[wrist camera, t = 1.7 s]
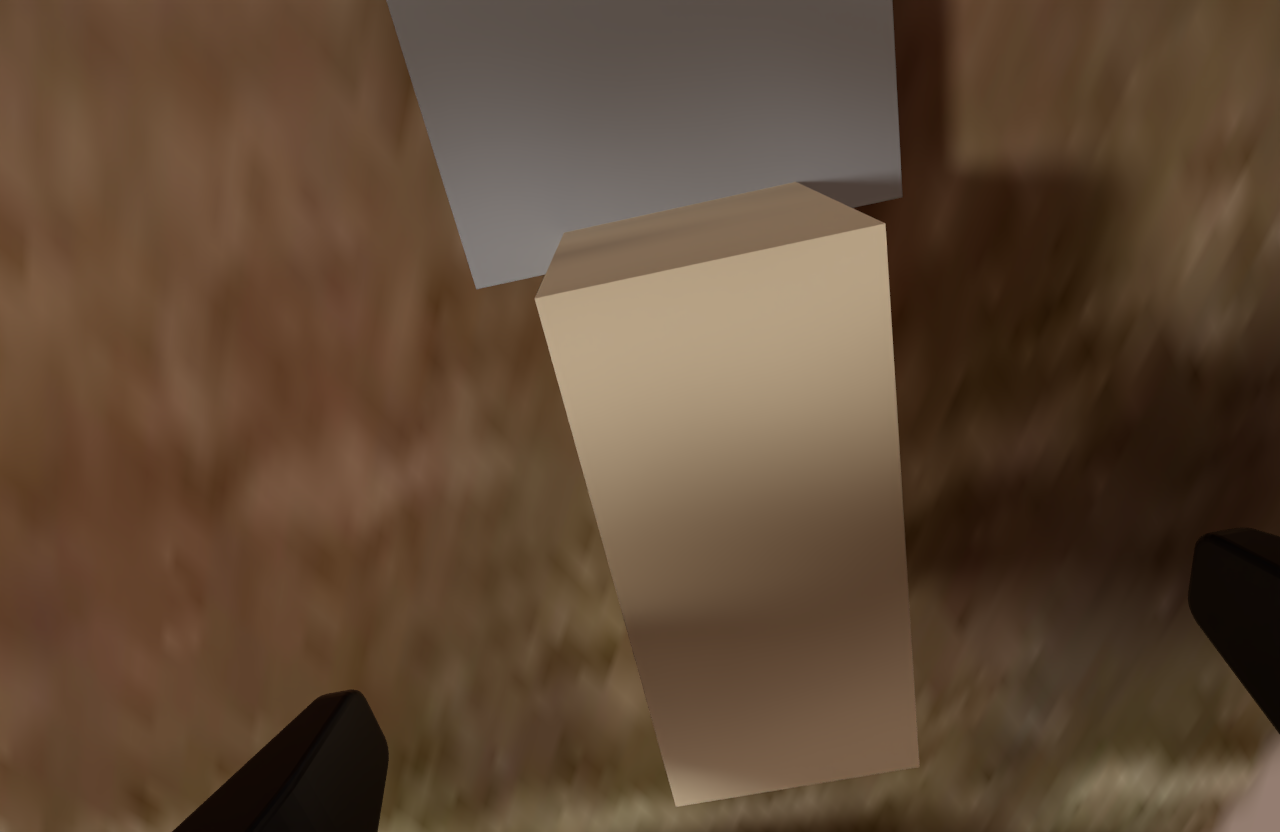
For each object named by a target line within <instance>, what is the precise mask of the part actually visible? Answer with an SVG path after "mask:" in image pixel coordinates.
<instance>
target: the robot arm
mask: <svg viewBox="0 0 1280 832" xmlns="http://www.w3.org/2000/svg"><path fill="white" fill-rule="evenodd" d="M1188 602H1189V607H1190V610H1191V613H1192V615H1193V617H1194V619H1195V620H1196V622H1197V624H1198V625H1199V626H1200V628H1201V629H1202V630H1203V632H1204V633H1205V634H1206V636H1207V637H1208V638H1209V640H1210V641H1211V642H1212V644H1213V645H1214V646H1215V648H1216V649H1217V651H1218V652H1219V653H1220V655H1221V656H1222V657H1223V659H1224V660H1225V661H1226V663H1227V664H1228V665H1229V667H1230V668H1231V669H1232V671H1233V672H1234V673H1235V675H1236V676H1237V677H1238V679H1239V680H1240V681H1241V683H1242V684H1243V686H1244V687H1245V688H1246V690H1247V691H1248V692H1249V694H1250V695H1251V696H1252V698H1253V699H1254V700H1255V702H1256V703H1257V704H1258V706H1259V707H1260V708H1261V710H1262V711H1263V712H1264V714H1265V715H1266V716H1267V718H1268V719H1269V721H1270V722H1271V723H1272V725H1273V726H1274V727H1275V729H1276V730H1277V731H1278V733H1279V734H1280V537H1279V536H1275V535H1272V534H1269V533H1265V532H1262V531H1259V530H1255V529H1251V528H1234V529H1228V530H1223V531H1217V532H1212V533H1207V534H1205V535H1203V536H1201V537H1200V538H1199V540H1198V541H1197V542H1196V545H1195V549H1194V556H1193V563H1192V570H1191V577H1190V584H1189V591H1188ZM388 761H389V753H388V746H387V742H386V739H385V736H384V734H383V732H382V730H381V728H380V726H379V724H378V722H377V720H376V718H375V716H374V714H373V712H372V710H371V708H370V706H369V704H368V702H367V700H366V698H365V697H364V695H363V694H362V693H361V692H359V691H358V690H346V691H340V692H335V693H329V694H325V695H322V696H320V697H318V698H317V699H316V700H314V701H313V702H312V703H311V704H310V705H309V706H308V707H307V708H306V709H305V710H303V711H302V712H301V713H300V714H299V715H298V716H297V717H296V718H295V719H294V720H293V721H292V722H290V723H289V724H288V725H287V726H286V727H285V728H284V729H283V730H282V731H281V732H280V733H279V734H277V735H276V736H275V737H274V738H273V739H272V740H271V741H270V742H269V743H268V744H267V745H266V746H264V747H263V748H262V749H261V750H260V751H259V752H258V753H257V754H256V755H255V756H254V757H253V758H251V759H250V760H249V761H248V762H247V763H246V764H245V765H244V766H243V767H242V768H241V769H240V770H239V771H237V772H236V773H235V774H234V775H233V776H232V777H231V778H230V779H229V780H228V781H227V782H226V783H224V784H223V785H222V786H221V787H220V788H219V789H218V790H217V791H216V792H215V793H214V794H212V795H211V796H210V797H209V798H208V799H207V800H206V801H205V802H204V803H203V804H202V805H201V806H199V807H198V808H197V809H196V810H195V811H194V812H193V813H192V814H191V815H190V816H189V817H188V818H186V819H185V820H184V821H183V822H182V823H181V824H180V825H179V826H178V827H177V828H176V829H175V830H173V831H172V832H378V826H379V819H380V813H381V807H382V800H383V794H384V788H385V781H386V775H387V769H388Z"/></svg>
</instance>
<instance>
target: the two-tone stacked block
mask: <svg viewBox="0 0 1280 832" xmlns="http://www.w3.org/2000/svg"><path fill="white" fill-rule="evenodd" d="M386 1H387V4H388V7H389V10H390V13H391V17H392V20H393V23H394V26H395V29H396V33H397V36H398V39H399V42H400V45H401V49H402V52H403V55H404V58H405V62H406V65H407V68H408V71H409V74H410V78H411V81H412V84H413V87H414V90H415V94H416V97H417V100H418V103H419V106H420V110H421V113H422V116H423V119H424V122H425V126H426V129H427V132H428V135H429V139H430V142H431V145H432V148H433V151H434V155H435V158H436V161H437V164H438V167H439V171H440V174H441V177H442V180H443V183H444V187H445V190H446V193H447V196H448V199H449V203H450V206H451V209H452V212H453V216H454V219H455V222H456V225H457V228H458V232H459V235H460V238H461V241H462V244H463V248H464V251H465V254H466V257H467V260H468V264H469V267H470V270H471V273H472V277H473V280H474V283H475V286H476V289H480V288H484V287H489V286H493V285H498V284H503V283H507V282H512V281H517V280H521V279H526V278H531V277H535V276H540V275H544V274H545V277H544V279H543V281H542V283H541V286H540V288H539V290H538V292H537V295H536V297H535V301H536V305H537V308H538V312H539V316H540V319H541V323H542V326H543V330H544V334H545V337H546V341H547V344H548V348H549V352H550V355H551V359H552V362H553V366H554V370H555V373H556V377H557V380H558V384H559V388H560V391H561V395H562V398H563V402H564V406H565V409H566V413H567V416H568V420H569V423H570V427H571V431H572V434H573V438H574V441H575V445H576V449H577V452H578V456H579V459H580V463H581V467H582V470H583V474H584V477H585V481H586V485H587V488H588V492H589V495H590V499H591V503H592V506H593V510H594V513H595V517H596V521H597V524H598V528H599V531H600V535H601V539H602V542H603V546H604V549H605V553H606V557H607V560H608V564H609V567H610V571H611V575H612V578H613V582H614V585H615V589H616V593H617V596H618V600H619V603H620V607H621V611H622V614H623V618H624V621H625V625H626V629H627V632H628V636H629V639H630V643H631V646H632V650H633V654H634V657H635V661H636V664H637V668H638V672H639V675H640V679H641V682H642V686H643V690H644V693H645V697H646V700H647V704H648V708H649V711H650V715H651V718H652V722H653V726H654V729H655V733H656V736H657V740H658V744H659V747H660V751H661V754H662V758H663V762H664V765H665V769H666V772H667V776H668V780H669V783H670V787H671V790H672V794H673V798H674V801H675V805H676V807H678V806H684V805H690V804H696V803H702V802H708V801H715V800H721V799H727V798H733V797H739V796H745V795H751V794H757V793H763V792H769V791H776V790H782V789H788V788H794V787H800V786H806V785H812V784H818V783H824V782H831V781H837V780H843V779H849V778H855V777H861V776H867V775H873V774H879V773H886V772H892V771H898V770H904V769H910V768H916V767H919V752H918V736H917V720H916V704H915V688H914V672H913V656H912V640H911V624H910V608H909V592H908V576H907V560H906V544H905V528H904V512H903V496H902V480H901V464H900V448H899V432H898V416H897V400H896V384H895V368H894V352H893V336H892V320H891V304H890V288H889V272H888V256H887V240H886V224H885V223H883V222H881V221H879V220H877V219H875V218H873V217H870V216H868V215H866V214H864V213H862V212H860V211H858V210H855V209H853V208H855V207H859V206H864V205H869V204H873V203H878V202H882V201H887V200H892V199H896V198H901V197H903V196H902V177H901V158H900V138H899V119H898V100H897V80H896V61H895V42H894V22H893V3H892V0H386Z"/></svg>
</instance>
